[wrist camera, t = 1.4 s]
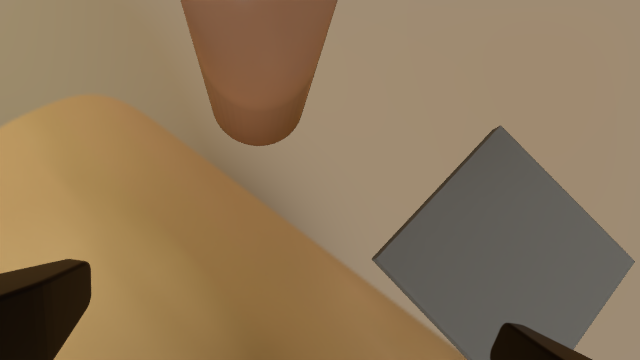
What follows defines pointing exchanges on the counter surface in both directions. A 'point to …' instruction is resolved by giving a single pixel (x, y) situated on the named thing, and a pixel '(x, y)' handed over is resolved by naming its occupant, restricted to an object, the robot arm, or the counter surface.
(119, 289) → the counter surface
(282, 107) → the brown rounded tapered cylinder
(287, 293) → the counter surface
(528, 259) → the gray panel
